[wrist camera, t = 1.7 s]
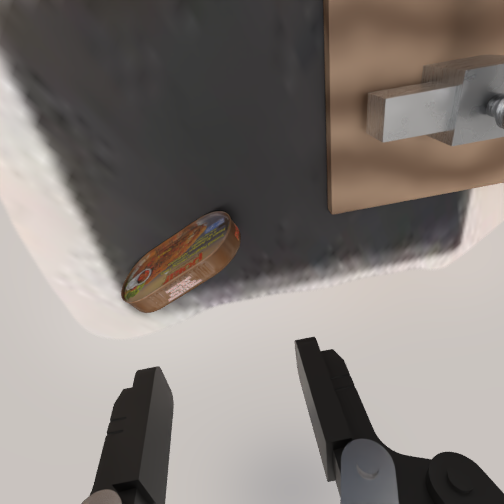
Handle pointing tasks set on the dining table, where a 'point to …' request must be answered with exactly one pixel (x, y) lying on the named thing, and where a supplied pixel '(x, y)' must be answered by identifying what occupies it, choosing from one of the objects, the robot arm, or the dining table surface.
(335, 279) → the dining table surface
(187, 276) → the tin
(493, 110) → the lever
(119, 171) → the dining table surface
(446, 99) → the steel pipe and valve
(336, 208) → the walnut board
